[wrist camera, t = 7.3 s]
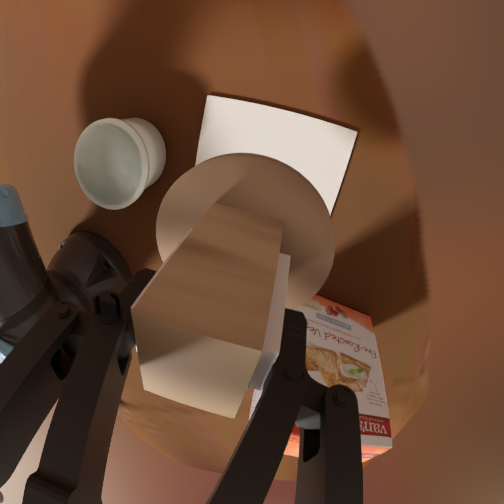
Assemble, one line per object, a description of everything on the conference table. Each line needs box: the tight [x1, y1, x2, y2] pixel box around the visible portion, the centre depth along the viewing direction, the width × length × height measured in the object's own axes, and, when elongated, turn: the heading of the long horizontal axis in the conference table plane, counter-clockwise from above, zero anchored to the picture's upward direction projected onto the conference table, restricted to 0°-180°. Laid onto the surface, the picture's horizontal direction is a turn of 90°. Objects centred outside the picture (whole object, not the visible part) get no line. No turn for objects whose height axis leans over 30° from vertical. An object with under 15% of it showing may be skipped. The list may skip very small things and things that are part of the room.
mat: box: [195, 95, 357, 215], centre depth 30 cm, size 16×16×1 cm
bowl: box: [74, 118, 166, 210], centre depth 28 cm, size 10×10×6 cm
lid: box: [132, 153, 335, 418], centre depth 13 cm, size 11×11×10 cm
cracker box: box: [248, 294, 392, 462], centre depth 29 cm, size 14×6×21 cm, turn 69°
